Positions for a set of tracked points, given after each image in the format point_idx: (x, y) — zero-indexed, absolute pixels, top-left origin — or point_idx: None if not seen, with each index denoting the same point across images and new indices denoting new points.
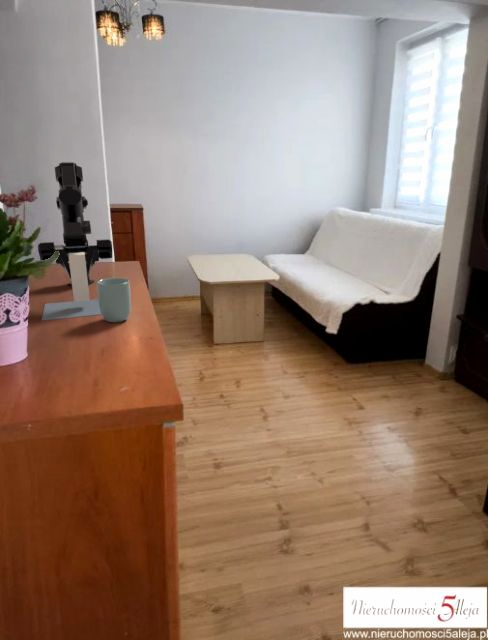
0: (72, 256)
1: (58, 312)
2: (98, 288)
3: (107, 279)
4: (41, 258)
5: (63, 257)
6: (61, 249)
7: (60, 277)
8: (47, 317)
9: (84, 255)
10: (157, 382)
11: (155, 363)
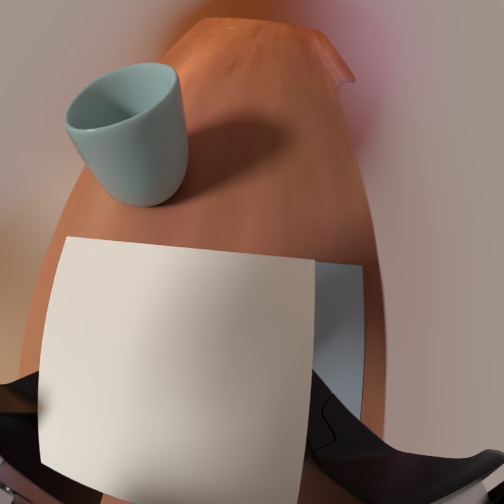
0: (247, 262)
1: (314, 338)
2: (180, 87)
3: (112, 125)
4: (487, 492)
5: (362, 456)
6: (445, 490)
7: None
8: (347, 288)
9: (76, 242)
10: (202, 28)
11: (185, 43)
